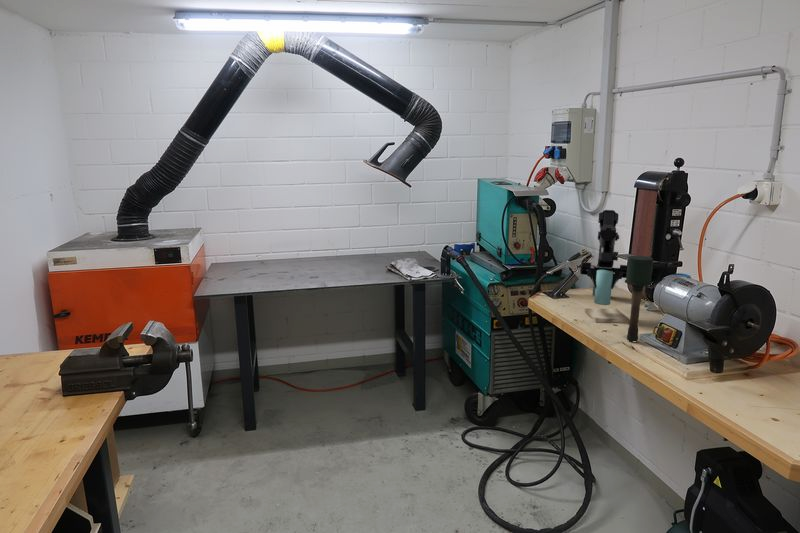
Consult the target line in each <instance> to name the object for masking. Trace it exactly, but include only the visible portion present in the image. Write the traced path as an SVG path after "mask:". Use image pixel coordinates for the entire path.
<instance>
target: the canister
mask: <svg viewBox="0 0 800 533" xmlns="http://www.w3.org/2000/svg"><path fill="white" fill-rule="evenodd" d="M612 278H613V271H610V270H597V275H596V288H595V296H594V298H593V299H594V300H593V303H594V304H596V305H599V306H610V305H611V299H612V290H613V289H612Z"/></svg>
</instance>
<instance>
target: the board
mask: <svg viewBox="0 0 800 533" xmlns="http://www.w3.org/2000/svg"><path fill="white" fill-rule="evenodd" d="M584 313H585V314H586V315H587V316H588V317H590V318H591V320H593V321H594V322H595V323H630V317H628V316H626V315H625V314H624V313H623V312H622V311H620V310H619V309H618V308H584Z"/></svg>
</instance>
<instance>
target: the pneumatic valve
mask: <svg viewBox="0 0 800 533" xmlns="http://www.w3.org/2000/svg"><path fill="white" fill-rule="evenodd" d="M642 300H643V301H645V303H644V309H645V310H648V311H649V312H653V311H655V312H656V311H658V308H657V307H656V306H655V305H654V303H653V302H650V301H648V300H645V299H643V298H642V299H641V301H642Z"/></svg>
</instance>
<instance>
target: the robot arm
mask: <svg viewBox="0 0 800 533" xmlns="http://www.w3.org/2000/svg"><path fill="white" fill-rule="evenodd" d="M619 216H620V215H619V213H617V212H616V211H615V210H613V209H605V210H603V211H601V212H599V213H598V224H599V229H600V230H599V231H597V232H598V234H597V240H598V242H599V247H598V248H599V249H598V258H597V264H596V265H594V264H592V262H589V261H581V263H580V274H581V275H582V276H583V275H585V276H587V277H589V278H590V280H591V283H592V285H593V287H592V294H591V295H592V296H593V297H595V288H596V275H597V270H610V271H613V278H612V289H611V290H614V288H615V286H616V284H617V282H618V281H619V280H622V279H626V275H627V265H628V264H619V267H614V261H618V259H619V251H615V245H616V242H617V241H618V240H620V235H619V234H618V233H619V232H617V228H616V226H617V225H618V224H619ZM617 255H618V257H616V256H617Z"/></svg>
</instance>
